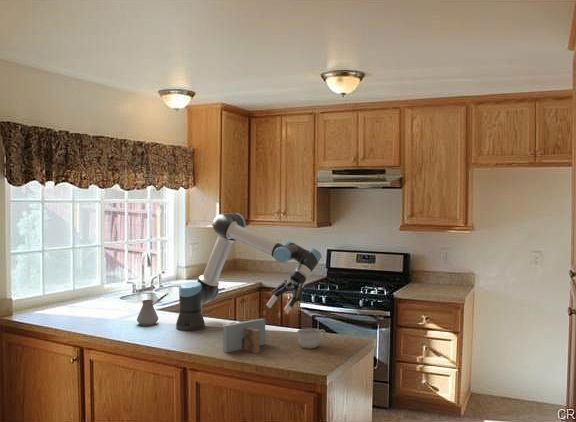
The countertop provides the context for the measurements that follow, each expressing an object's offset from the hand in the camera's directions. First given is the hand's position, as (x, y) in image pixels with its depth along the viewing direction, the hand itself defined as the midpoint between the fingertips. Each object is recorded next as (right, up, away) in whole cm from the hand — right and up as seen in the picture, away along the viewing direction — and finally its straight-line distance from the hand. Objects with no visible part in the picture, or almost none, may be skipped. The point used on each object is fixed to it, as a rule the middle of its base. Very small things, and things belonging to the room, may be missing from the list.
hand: (276, 308), depth 266 cm
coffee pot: (-68, -14, +38) cm, 79 cm away
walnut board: (-15, -16, -12) cm, 25 cm away
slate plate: (-15, -16, -11) cm, 24 cm away
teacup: (+17, -16, -9) cm, 25 cm away
